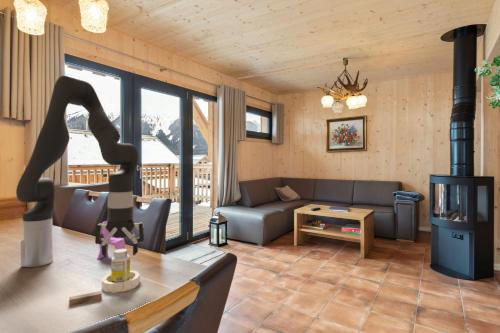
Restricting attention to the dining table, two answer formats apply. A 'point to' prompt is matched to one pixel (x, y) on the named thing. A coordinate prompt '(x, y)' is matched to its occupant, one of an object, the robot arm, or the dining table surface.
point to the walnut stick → (85, 298)
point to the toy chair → (111, 241)
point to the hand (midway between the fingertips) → (120, 255)
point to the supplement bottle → (120, 266)
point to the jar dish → (120, 283)
